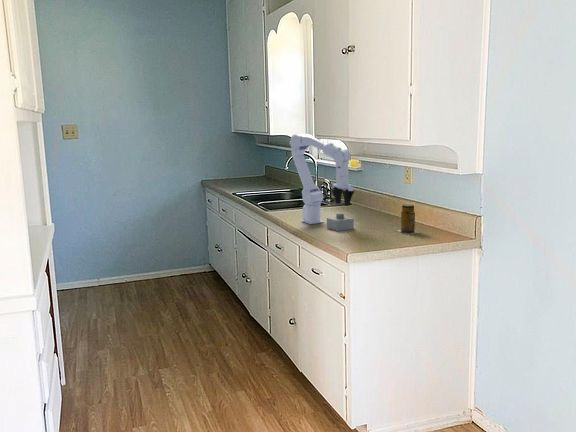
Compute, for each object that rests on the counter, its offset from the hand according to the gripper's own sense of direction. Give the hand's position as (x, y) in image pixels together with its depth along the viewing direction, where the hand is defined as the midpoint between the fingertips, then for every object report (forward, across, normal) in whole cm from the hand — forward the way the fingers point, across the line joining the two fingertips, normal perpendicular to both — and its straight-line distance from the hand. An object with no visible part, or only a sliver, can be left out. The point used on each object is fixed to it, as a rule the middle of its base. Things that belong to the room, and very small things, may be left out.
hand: (342, 204), depth 268 cm
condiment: (+11, -28, -16) cm, 34 cm away
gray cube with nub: (+10, -4, +4) cm, 12 cm away
